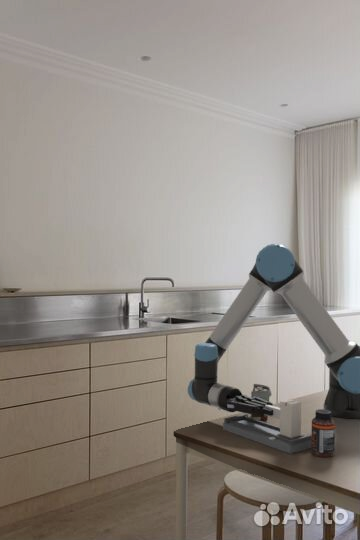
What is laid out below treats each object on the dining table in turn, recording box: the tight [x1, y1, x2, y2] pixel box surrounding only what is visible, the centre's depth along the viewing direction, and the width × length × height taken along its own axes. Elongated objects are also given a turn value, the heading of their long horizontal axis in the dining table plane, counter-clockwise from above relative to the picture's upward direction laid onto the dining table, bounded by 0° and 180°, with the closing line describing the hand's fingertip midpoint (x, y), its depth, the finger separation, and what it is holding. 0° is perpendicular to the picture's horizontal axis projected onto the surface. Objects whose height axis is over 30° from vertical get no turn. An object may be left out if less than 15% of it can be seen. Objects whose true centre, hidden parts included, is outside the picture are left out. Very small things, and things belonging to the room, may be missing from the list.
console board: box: [222, 413, 312, 455], centre depth 152 cm, size 10×26×3 cm, turn 38°
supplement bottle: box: [310, 408, 336, 458], centre depth 139 cm, size 6×6×11 cm
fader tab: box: [277, 399, 304, 440], centre depth 145 cm, size 5×5×10 cm
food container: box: [250, 383, 273, 422], centre depth 171 cm, size 12×6×10 cm, turn 168°
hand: (284, 414), depth 146 cm, fingers closed
